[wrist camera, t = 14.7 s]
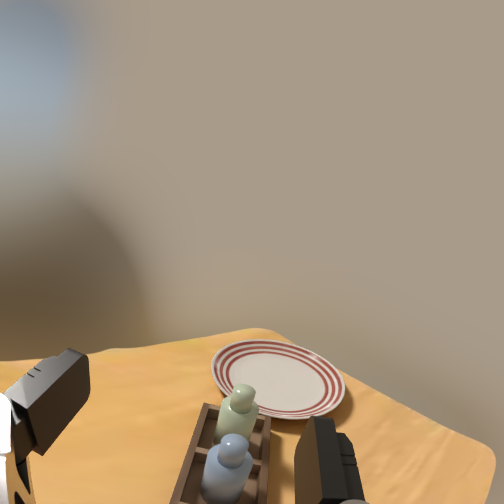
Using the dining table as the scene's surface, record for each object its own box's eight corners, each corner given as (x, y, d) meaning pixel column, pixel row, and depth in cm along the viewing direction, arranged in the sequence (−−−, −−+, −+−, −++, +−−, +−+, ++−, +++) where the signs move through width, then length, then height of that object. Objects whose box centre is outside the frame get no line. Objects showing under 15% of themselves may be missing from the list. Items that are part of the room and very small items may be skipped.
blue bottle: (196, 502, 29) (206, 454, 27) (203, 474, 34) (215, 422, 32) (237, 511, 29) (257, 464, 27) (242, 482, 34) (260, 432, 32)
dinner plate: (247, 445, 43) (251, 431, 42) (191, 353, 66) (193, 340, 65) (365, 408, 56) (371, 396, 55) (293, 345, 79) (297, 334, 79)
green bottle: (210, 450, 39) (222, 397, 37) (216, 428, 44) (227, 375, 42) (245, 458, 39) (263, 406, 36) (248, 435, 44) (264, 383, 42)
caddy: (168, 515, 27) (168, 504, 26) (201, 415, 47) (203, 402, 46) (258, 533, 26) (264, 524, 26) (266, 429, 47) (271, 417, 46)
